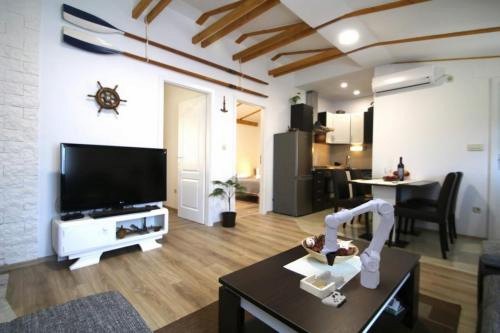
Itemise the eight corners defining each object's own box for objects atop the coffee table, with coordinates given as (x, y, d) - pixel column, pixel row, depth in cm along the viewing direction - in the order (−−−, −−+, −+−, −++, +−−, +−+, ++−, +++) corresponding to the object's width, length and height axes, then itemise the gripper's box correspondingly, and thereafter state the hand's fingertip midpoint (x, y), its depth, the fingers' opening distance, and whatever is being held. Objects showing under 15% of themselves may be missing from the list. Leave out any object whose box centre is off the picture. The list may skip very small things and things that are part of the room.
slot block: (325, 275, 126) (325, 269, 126) (346, 284, 117) (346, 278, 117) (313, 281, 119) (313, 275, 119) (335, 292, 110) (335, 285, 110)
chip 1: (315, 286, 113) (315, 281, 113) (322, 289, 110) (322, 284, 110) (310, 289, 110) (310, 284, 110) (317, 293, 107) (317, 287, 107)
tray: (313, 282, 119) (313, 273, 119) (334, 292, 110) (335, 283, 109) (300, 289, 112) (300, 280, 111) (321, 301, 102) (322, 291, 102)
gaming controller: (331, 291, 109) (341, 285, 105) (340, 305, 105) (351, 299, 102) (319, 301, 101) (330, 295, 97) (328, 316, 98) (340, 310, 94)
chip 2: (319, 283, 115) (319, 278, 115) (327, 286, 112) (327, 281, 112) (315, 286, 113) (315, 281, 113) (322, 289, 110) (322, 284, 110)
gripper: (331, 234, 125) (330, 258, 125) (316, 239, 116) (315, 266, 116) (343, 237, 120) (343, 263, 120) (328, 243, 110) (328, 271, 111)
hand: (330, 265), depth 118 cm, fingers closed
